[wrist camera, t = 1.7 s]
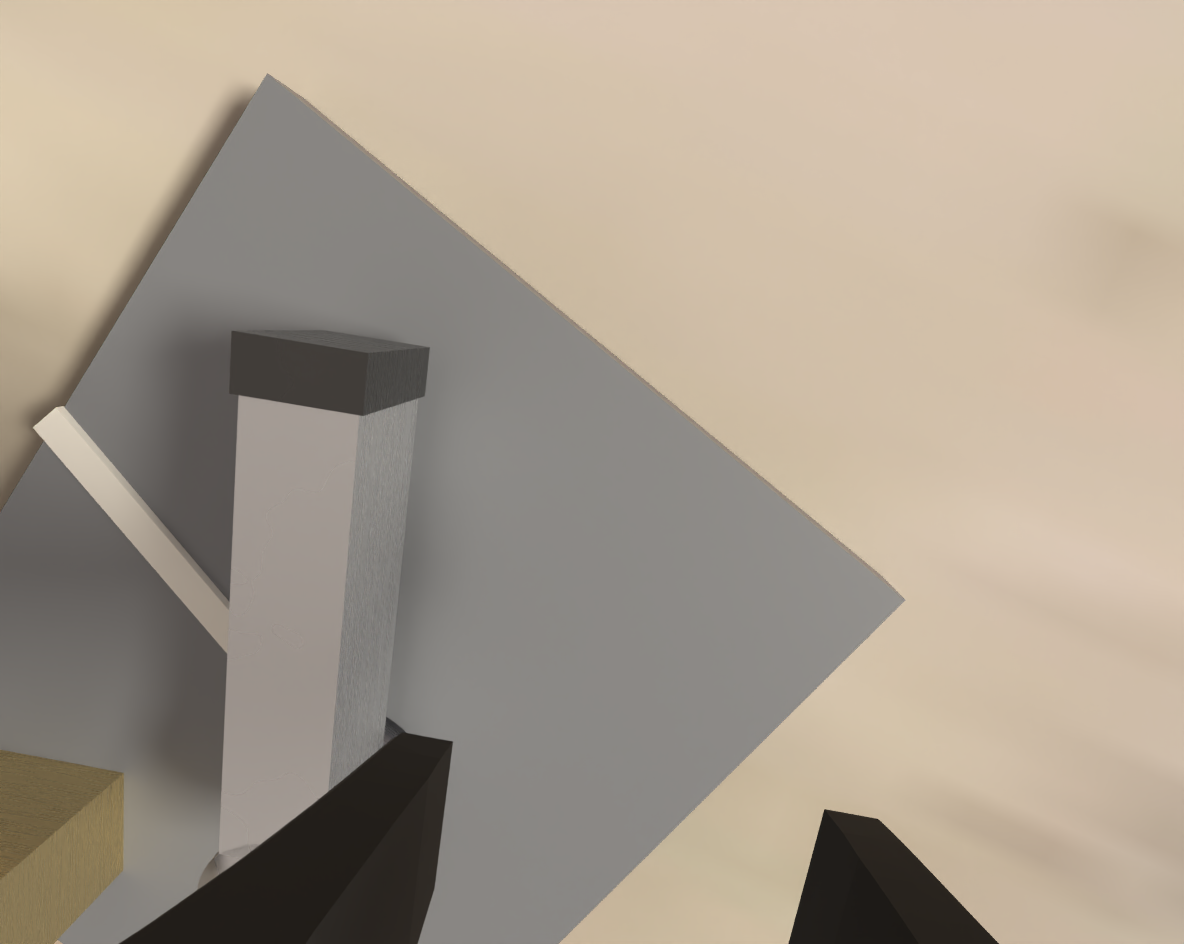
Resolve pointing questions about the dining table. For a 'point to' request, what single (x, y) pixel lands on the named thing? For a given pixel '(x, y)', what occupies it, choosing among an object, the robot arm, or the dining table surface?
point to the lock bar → (311, 567)
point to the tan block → (55, 843)
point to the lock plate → (412, 553)
